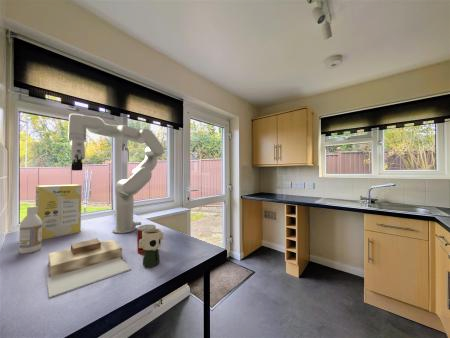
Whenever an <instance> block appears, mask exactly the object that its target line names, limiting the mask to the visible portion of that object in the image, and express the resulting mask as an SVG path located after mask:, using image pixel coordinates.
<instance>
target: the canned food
mask: <svg viewBox="0 0 450 338" xmlns="http://www.w3.org/2000/svg"><path fill="white" fill-rule="evenodd" d="M147 229H157V228H156V225H155V224H143V225H142V224H141V225H138V227H137V236H136V237H137V244H136V245H137V246H136V248H137V250H136V251H137V253H138V254H140V255H144V252H145V250H144V249H142V248H139V240H140V239H142V232H143V231H144V230H147Z"/></svg>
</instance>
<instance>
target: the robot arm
mask: <svg viewBox="0 0 450 338" xmlns="http://www.w3.org/2000/svg"><path fill="white" fill-rule="evenodd" d="M87 131H88V132H89V133H92V134H95V135H98V136H99V135H100V136H104V137H110V138H116V139H121V140H126V141H129V142H134V143H137V144H138V143H139V144H145V145H146V146H147V147H145V149H144V160H143V161H142V162H141V163H139V164H138V165H137V166H136V167H135V168H134V169H133V170H132V171H131V172H130V175H129V176H130V177H129V178H128V179H127V178H123V179H119V181H118V182H117V183H116V184H115V186H114V187H115V188H114V189H115V191H114V192H115V227H114V228H113V229H112V233H113V234H127V233H132V232H134V231H135V230H137V227H136V226H142V222H141V221H134V202H135V201H134V200H135V199H134V196H135V195H136V194H138V193H139V192H140V191H141V190H142V189H143V188H145V186H146V185H147V184H148V183H149V182H150V181H151V179H152V177H153V176H152V175H153V173H152V171H154V169H155V168H156V166H157V163H158V157H161V156H162V155H163V154H164V153H165V148H164V146H163V145H162V143H161V142H160V140H159V139H158V137H157V135H156V134H155V133H154V132H152V130H151V129H149V128H142V129H139V128H135V127H133V126H129V125H126V124H115V125H114V124H107V123H105V121H104V120H103V119H102V118H101V117H99V116H91V115H90V116H89V115H84V114H81V113H70V114H69V116H68V136H67V137H68V142H70V159H71V171H77V172H78V171H83V165H84V164H83V160H85V159H86V145H85V143H87V134H88V133H87Z"/></svg>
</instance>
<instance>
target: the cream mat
mask: <svg viewBox="0 0 450 338" xmlns="http://www.w3.org/2000/svg"><path fill="white" fill-rule="evenodd" d="M131 270H132V268H131V267H130V266H129V265H128V264H127V263H126V262H125V260H123V258H122V257H119V258H115V259H112V260H109V261H105V262H102V263H98V264H95V265H91V266H88V267H85V268H81V269H78V270H74V271H71V272H67V273H64V274H61V275H57V276H54V277H51V276H50V277H47V278H46V284H47V292H48V293H49V294H48V299H51V298H54V297H57V296H59V295H63V294H66V293H68V292H72V291H75V290H77V289H79V288H83V287H85V286H89V285H92V284H94V283H96V282H99V281H103V280H106V279H108V278H111V277H114V276H117V275H120V274H123V273H125V272H129V271H131ZM65 292H66V293H65ZM53 296H54V297H53Z"/></svg>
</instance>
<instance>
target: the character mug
mask: <svg viewBox="0 0 450 338" xmlns="http://www.w3.org/2000/svg"><path fill="white" fill-rule="evenodd" d="M163 240H164V232H163V231H162V229H160V228H156V229H147V230H144V231H143V232H142V239H140V240H139V248H142V249H144V250H145V252H144V254H143V258H142V266H144V267H146V268H153V267H155V266H156V264H157V265H159V264H161V258H160V252H159V248H161V246H162V241H163Z"/></svg>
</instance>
